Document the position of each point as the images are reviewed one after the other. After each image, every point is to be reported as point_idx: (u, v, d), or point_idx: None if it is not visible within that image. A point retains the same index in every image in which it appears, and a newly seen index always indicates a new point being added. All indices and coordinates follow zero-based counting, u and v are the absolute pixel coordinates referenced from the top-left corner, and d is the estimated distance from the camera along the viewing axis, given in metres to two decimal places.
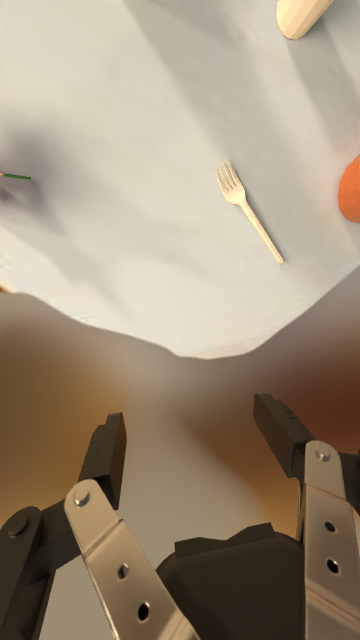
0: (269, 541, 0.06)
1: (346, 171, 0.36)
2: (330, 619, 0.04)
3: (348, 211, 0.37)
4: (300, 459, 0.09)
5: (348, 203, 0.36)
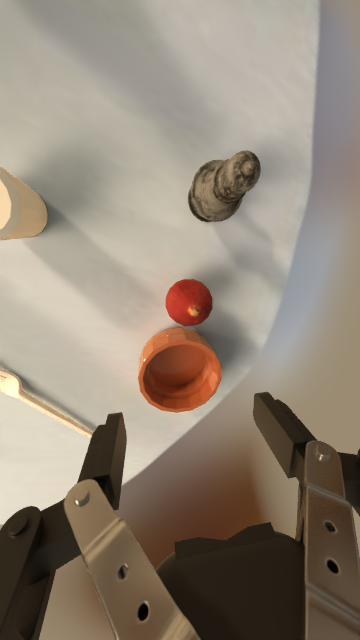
0: (269, 541, 0.06)
1: None
2: (330, 619, 0.04)
3: None
4: (300, 459, 0.09)
5: None
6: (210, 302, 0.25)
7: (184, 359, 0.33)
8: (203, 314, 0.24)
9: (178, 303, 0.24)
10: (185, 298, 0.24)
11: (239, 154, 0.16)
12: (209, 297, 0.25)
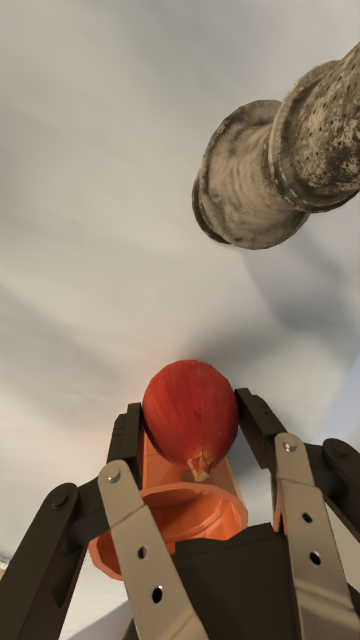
0: (269, 541, 0.06)
1: None
2: (321, 616, 0.05)
3: None
4: (270, 450, 0.10)
5: None
6: (236, 422, 0.12)
7: None
8: (221, 460, 0.11)
9: (165, 435, 0.10)
10: (181, 429, 0.10)
11: None
12: (234, 412, 0.12)
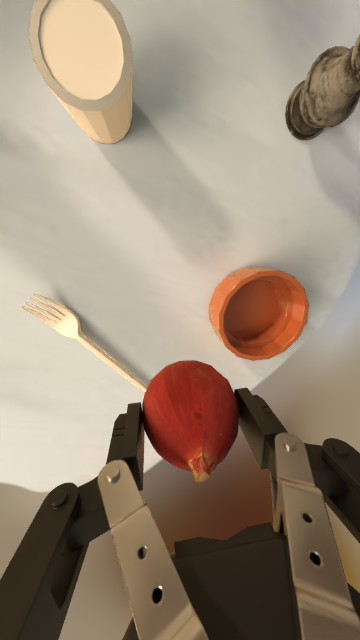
0: (269, 541, 0.06)
1: (214, 294, 0.28)
2: (321, 616, 0.05)
3: None
4: (270, 450, 0.10)
5: (217, 334, 0.28)
6: (236, 422, 0.12)
7: (256, 306, 0.30)
8: (221, 461, 0.11)
9: (165, 436, 0.10)
10: (181, 430, 0.10)
11: None
12: (234, 412, 0.12)
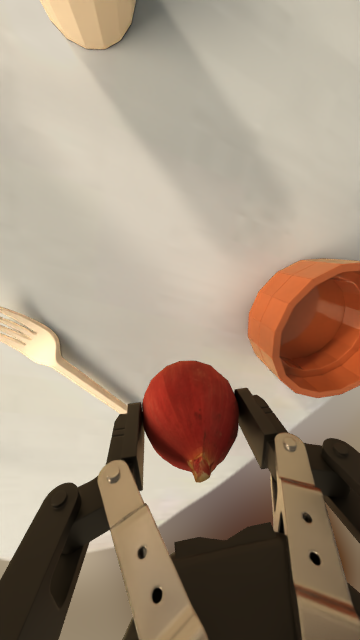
0: (269, 541, 0.06)
1: (257, 299, 0.19)
2: (321, 616, 0.05)
3: None
4: (270, 450, 0.10)
5: (262, 358, 0.19)
6: (236, 423, 0.12)
7: (315, 315, 0.21)
8: (221, 461, 0.11)
9: (165, 436, 0.10)
10: (181, 430, 0.10)
11: None
12: (234, 412, 0.12)
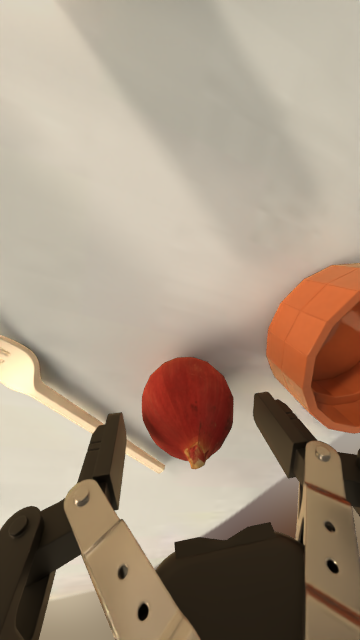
0: (269, 541, 0.06)
1: (279, 312, 0.16)
2: (330, 619, 0.05)
3: None
4: (300, 459, 0.09)
5: (285, 383, 0.16)
6: (230, 415, 0.12)
7: (345, 330, 0.17)
8: None
9: (164, 427, 0.11)
10: (178, 421, 0.11)
11: None
12: (229, 405, 0.12)
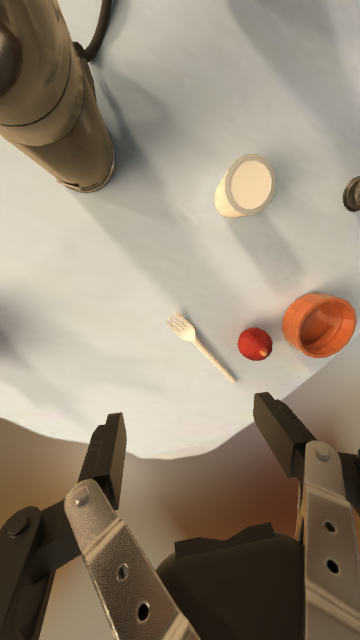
0: (269, 541, 0.06)
1: (287, 311, 0.40)
2: (330, 619, 0.04)
3: (291, 344, 0.41)
4: (300, 459, 0.09)
5: (290, 340, 0.40)
6: None
7: (315, 319, 0.42)
8: (268, 354, 0.36)
9: (252, 346, 0.35)
10: (257, 343, 0.35)
11: None
12: (271, 342, 0.36)
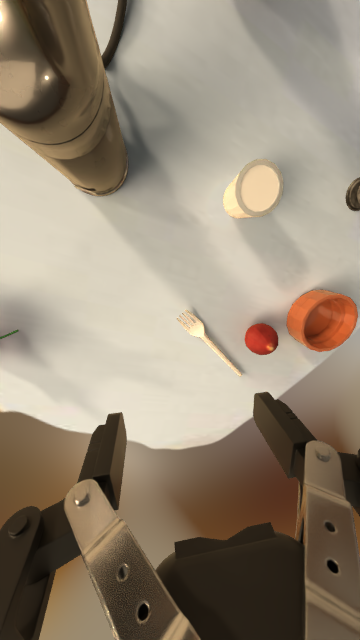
0: (269, 541, 0.06)
1: (292, 307, 0.42)
2: (330, 619, 0.04)
3: (295, 338, 0.43)
4: (300, 459, 0.09)
5: (294, 334, 0.42)
6: (277, 340, 0.38)
7: (318, 315, 0.44)
8: (274, 349, 0.38)
9: (259, 341, 0.37)
10: (264, 339, 0.37)
11: None
12: (277, 337, 0.38)
